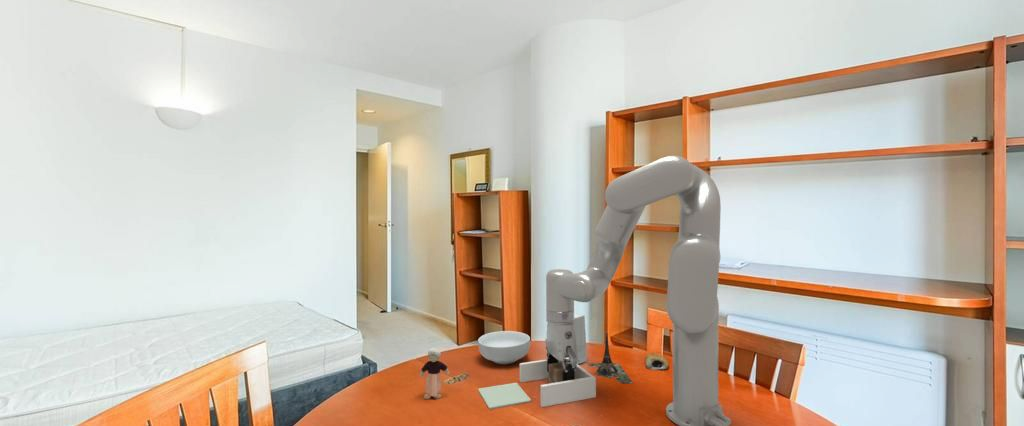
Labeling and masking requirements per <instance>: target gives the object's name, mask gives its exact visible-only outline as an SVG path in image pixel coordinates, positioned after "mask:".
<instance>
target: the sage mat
mask: <svg viewBox="0 0 1024 426" xmlns="http://www.w3.org/2000/svg"><path fill="white" fill-rule="evenodd" d="M477 391H478V392H479V394H480V396H481V398H482V400H484V403H485V404H486V407H488V409H489V410H493V409H499V408H504V407H509V406H515V405H521V404H525V403H526V404H527V403H531V402H532V399H531V398H530V397H529V395H528V394H527V393H526V392H525V391H524V390H523V389H522V387H521V386H520V385H519V383H518V382H513V383H505V384H499V385H492V386H487V387H480V388H478V389H477Z"/></svg>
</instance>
